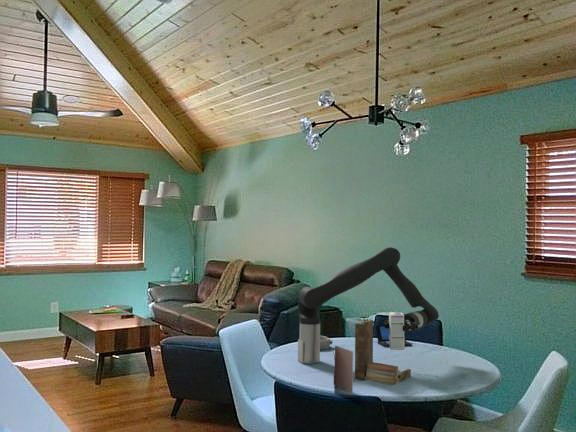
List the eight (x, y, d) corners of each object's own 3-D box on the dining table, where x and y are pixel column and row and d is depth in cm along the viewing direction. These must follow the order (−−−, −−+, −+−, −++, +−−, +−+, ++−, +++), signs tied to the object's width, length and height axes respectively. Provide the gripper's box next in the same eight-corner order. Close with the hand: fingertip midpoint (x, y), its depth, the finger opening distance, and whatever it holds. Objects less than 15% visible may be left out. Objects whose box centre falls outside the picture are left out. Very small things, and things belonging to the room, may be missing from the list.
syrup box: (404, 350, 220) (405, 314, 220) (390, 349, 221) (390, 314, 221) (402, 346, 226) (402, 312, 226) (388, 346, 226) (388, 311, 227)
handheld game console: (384, 348, 273) (384, 329, 273) (374, 342, 286) (374, 324, 286) (413, 346, 277) (413, 328, 277) (401, 341, 290) (401, 324, 290)
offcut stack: (393, 385, 207) (393, 369, 208) (365, 379, 215) (365, 364, 215) (400, 382, 212) (400, 366, 212) (372, 376, 220) (372, 361, 220)
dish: (310, 351, 263) (310, 341, 263) (298, 345, 275) (298, 335, 275) (336, 349, 268) (336, 339, 268) (323, 343, 281) (323, 334, 281)
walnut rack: (391, 386, 206) (391, 328, 206) (354, 379, 216) (355, 323, 216) (410, 376, 220) (411, 322, 220) (375, 370, 230) (376, 318, 230)
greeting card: (332, 384, 208) (332, 345, 208) (351, 385, 207) (352, 345, 208) (332, 393, 197) (332, 352, 197) (352, 394, 196) (353, 352, 196)
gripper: (396, 311, 239) (378, 316, 226) (427, 314, 231) (410, 320, 218) (396, 328, 239) (378, 334, 226) (427, 332, 231) (410, 338, 218)
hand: (394, 327), depth 222 cm, fingers closed on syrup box, 7 cm apart
